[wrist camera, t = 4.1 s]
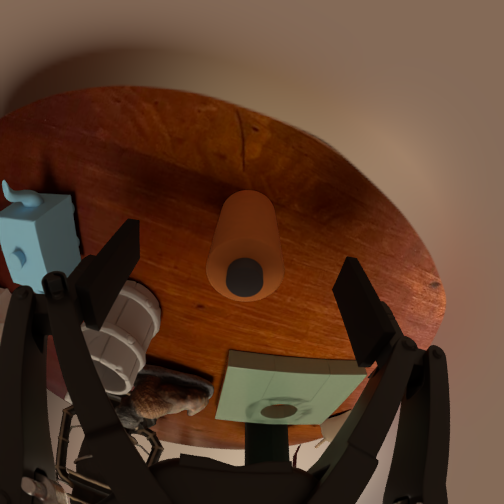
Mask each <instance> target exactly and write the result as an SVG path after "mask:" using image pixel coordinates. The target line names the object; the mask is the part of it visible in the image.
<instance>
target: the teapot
mask: <svg viewBox="0 0 504 504" xmlns="http://www.w3.org/2000/svg"><path fill="white" fill-rule="evenodd" d="M2 187H3V192H4V195H5V197H6V199H7V200H9V201H11V202H14V203H13V204H11V205H10V206H8V207H7V208H5V209H4V210H2V211H1V212H0V243H1V247H2V250H3V253H4V256H5V260H6V263H7V266H8V268H9V271H10V274H11V277H12V279H13V282H14V283H17V284H20V285H28V286H30V287H32V289H33V291H34V292H35V293H37V294H44V291H43V288H42V284H41V281H42V278H43V277H44V276H45V275H46V274H48V273H50V272H52V271H62V272H63V273H65V274H66V276H67V278H68V276H69V275H70V274H71V273H72V271H74V269H75V268H76V266H78V264H79V263H80V262H81V257H80V252H79V247H78V246H79V245H80V241H79V239H78V237H77V236H76V230H75V224H74V217H73V213H74V211H75V208H74V205H73V203H72V201H71V195H62V194H41V193H37V192H35V191H33V190H21V191H14V190H12V189H11V188H10V187H9V186H8V184H7V182H6V181H5V180H3V182H2Z"/></svg>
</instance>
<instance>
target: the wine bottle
mask: <svg viewBox="0 0 504 504" xmlns="http://www.w3.org/2000/svg"><path fill="white" fill-rule="evenodd" d="M300 445H301V444H300ZM299 448H300V446H298V448H297V450H296V452H295V455H294V456H293V467H296V459H297V452H298V450H299ZM265 461H289V444H288V427H287V424H263V423H251V422H246V423H245V465H250V464H255V463H260V462H265Z"/></svg>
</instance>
